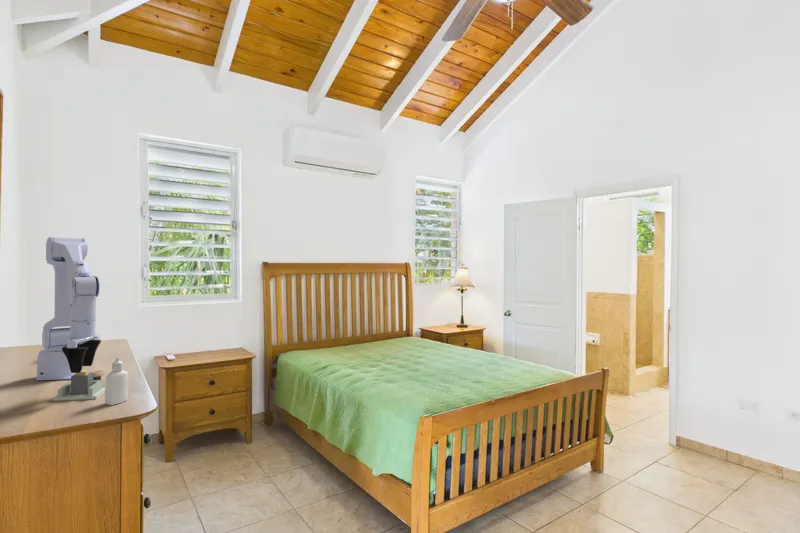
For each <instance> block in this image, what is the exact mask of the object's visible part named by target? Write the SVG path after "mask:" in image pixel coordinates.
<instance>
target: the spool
mask: <svg viewBox="0 0 800 533" xmlns="http://www.w3.org/2000/svg"><path fill="white" fill-rule="evenodd" d="M89 373H93V381H98V380H102V376H105V371H104V370H89ZM104 386H105V382H104V381H103V387H104Z"/></svg>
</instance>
